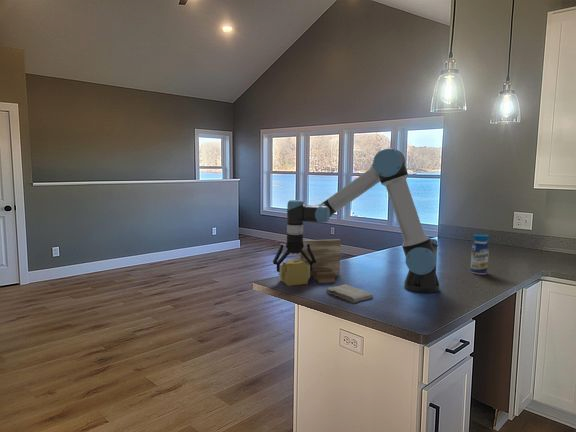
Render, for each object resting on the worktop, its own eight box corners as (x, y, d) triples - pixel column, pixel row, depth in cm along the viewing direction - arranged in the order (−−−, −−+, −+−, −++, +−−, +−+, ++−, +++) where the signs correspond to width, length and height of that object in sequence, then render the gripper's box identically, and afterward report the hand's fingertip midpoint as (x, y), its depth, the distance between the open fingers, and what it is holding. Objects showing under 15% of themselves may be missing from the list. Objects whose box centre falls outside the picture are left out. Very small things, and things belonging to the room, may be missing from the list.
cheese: (279, 280, 199) (280, 260, 198) (300, 278, 203) (301, 258, 202) (287, 286, 190) (287, 264, 189) (309, 284, 194) (309, 263, 192)
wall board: (347, 281, 198) (348, 244, 196) (306, 283, 195) (306, 245, 193) (336, 273, 214) (337, 238, 212) (298, 274, 211) (299, 239, 209)
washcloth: (343, 289, 188) (344, 282, 188) (374, 299, 174) (374, 292, 174) (324, 293, 181) (324, 286, 181) (354, 304, 167) (354, 297, 167)
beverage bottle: (486, 271, 221) (488, 234, 219) (489, 275, 213) (491, 236, 211) (468, 270, 224) (471, 233, 221) (471, 274, 215) (473, 235, 213)
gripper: (319, 231, 200) (318, 275, 202) (267, 232, 195) (266, 277, 198) (323, 234, 192) (322, 279, 195) (269, 235, 188) (269, 281, 190)
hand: (294, 278), depth 196 cm, fingers open, 13 cm apart
